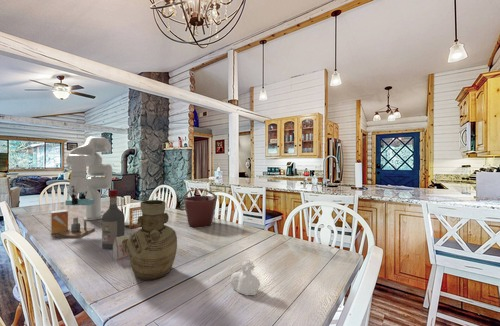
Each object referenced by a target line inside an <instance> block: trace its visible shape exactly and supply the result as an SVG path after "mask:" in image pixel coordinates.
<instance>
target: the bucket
mask: <svg viewBox="0 0 500 326" xmlns="http://www.w3.org/2000/svg"><path fill="white" fill-rule="evenodd" d="M193 191H195V192H196V191H203V192H207V193H208V194H210V195H212V196H209V195H193V196H188V194H189V193H190V192H193ZM186 196H188V197H186ZM182 198H183V200H184V202H183V203H184V207H185V212H186V218H187V224H188V226H189V227H190V228H196V227H202V228H206V227H205V226H208V227H211V225H212V224H213V220H214V216H215V215H214V214H215V209H216V206H217V200H218V196H217V195H216V194H215V193H214V192H213V191H210V190H207V189H204V188H195V189H190V190H188V191H186V193H185V194H182ZM211 223H212V224H211Z"/></svg>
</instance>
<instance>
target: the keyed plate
mask: <svg viewBox="0 0 500 326" xmlns="http://www.w3.org/2000/svg"><path fill="white" fill-rule="evenodd" d="M91 204H94V199H80V198H78V204H77V205H76V206H86V205H91ZM65 206H73V205H72V198H70V199H66V200H65Z"/></svg>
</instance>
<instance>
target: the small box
mask: <svg viewBox="0 0 500 326" xmlns="http://www.w3.org/2000/svg"><path fill="white" fill-rule="evenodd" d="M66 230H69V211H68V209H61V210H60V209H59V210H53V211H51V210H50V233H51V235H53V234H59V233H61V232H64V231H66Z"/></svg>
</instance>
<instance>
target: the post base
mask: <svg viewBox="0 0 500 326" xmlns="http://www.w3.org/2000/svg"><path fill="white" fill-rule="evenodd" d="M70 226H71V227H70V228H68V230H66V231H64V232H61V233H55V235H54V238H58V239H59V238H61V239H63V238H64V239H66V238H69V239H70V238H71V239H80V238H81V237H84V236H86V235H88V234H90V233H92V232H94V231H96V228H95V227H87V220H83V227H81V223H79V217H78V216H74V217H73V218H72V224H70Z"/></svg>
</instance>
